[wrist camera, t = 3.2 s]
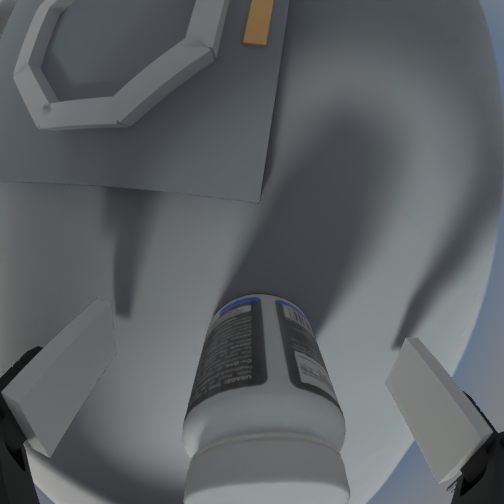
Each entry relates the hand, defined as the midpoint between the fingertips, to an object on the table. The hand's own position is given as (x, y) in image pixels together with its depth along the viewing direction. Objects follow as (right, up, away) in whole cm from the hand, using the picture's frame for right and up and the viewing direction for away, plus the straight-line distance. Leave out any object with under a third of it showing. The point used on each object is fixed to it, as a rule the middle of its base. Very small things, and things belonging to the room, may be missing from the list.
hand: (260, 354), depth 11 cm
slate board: (-7, +14, -3) cm, 16 cm away
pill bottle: (0, 0, +1) cm, 1 cm away
